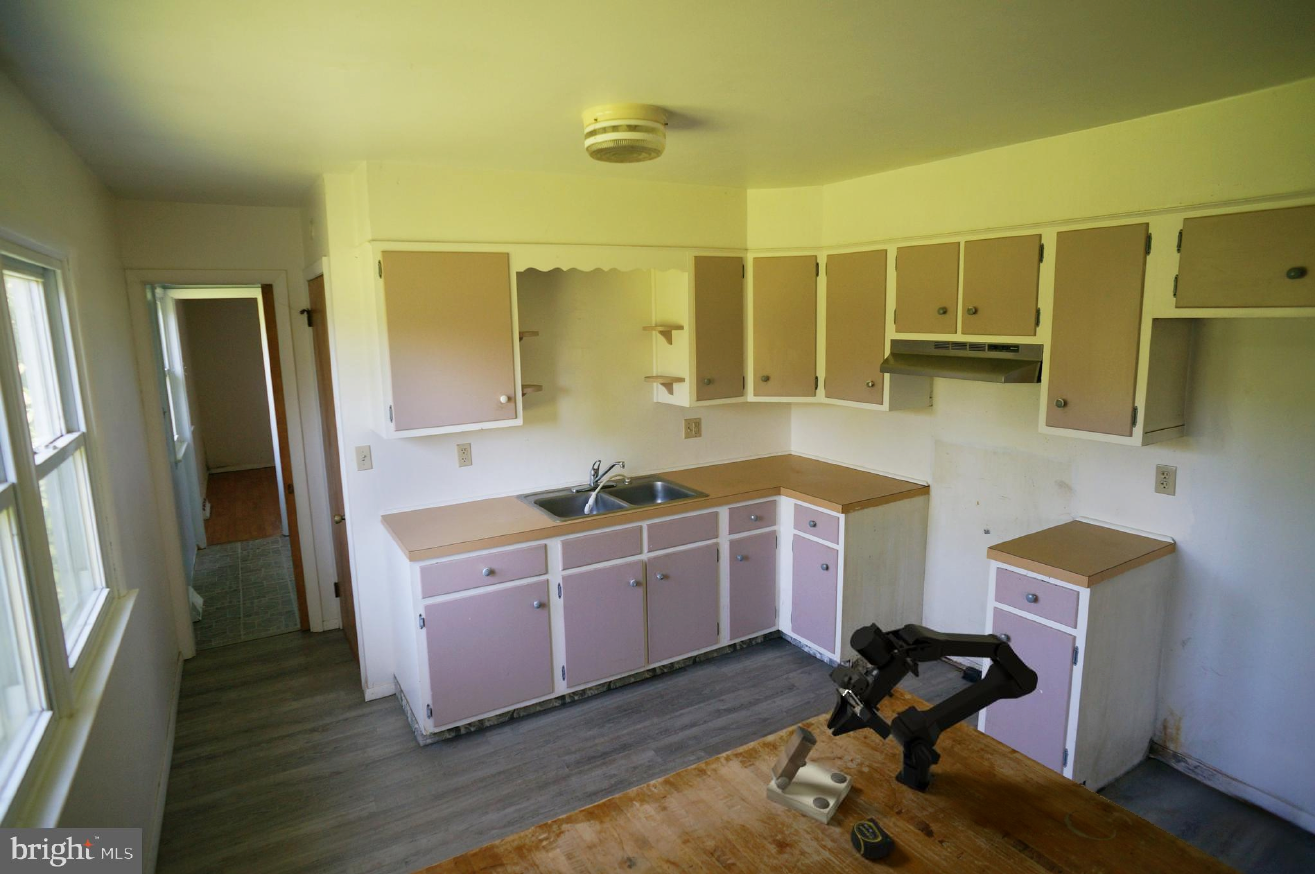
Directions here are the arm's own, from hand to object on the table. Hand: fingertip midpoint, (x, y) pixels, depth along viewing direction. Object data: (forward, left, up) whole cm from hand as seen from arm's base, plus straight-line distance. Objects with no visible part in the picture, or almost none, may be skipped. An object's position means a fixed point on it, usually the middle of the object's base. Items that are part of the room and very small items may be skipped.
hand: (830, 731), depth 143 cm
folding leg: (+9, -7, -10) cm, 15 cm away
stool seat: (+3, -3, -14) cm, 14 cm away
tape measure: (+8, +13, -14) cm, 21 cm away
